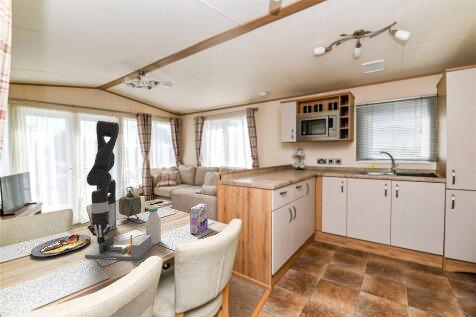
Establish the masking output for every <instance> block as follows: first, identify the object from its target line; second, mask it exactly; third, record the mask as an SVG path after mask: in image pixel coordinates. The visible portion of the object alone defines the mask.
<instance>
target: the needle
mask: <svg viewBox="0 0 476 317" xmlns="http://www.w3.org/2000/svg"><path fill="white" fill-rule="evenodd" d="M129 238H130V241H129V242H130V243H129V244H130V245H129V246H128V247H127V249H128V253H130V252H131V244H133V243H134V242H135V241H134V242H133V234H130V237H129Z"/></svg>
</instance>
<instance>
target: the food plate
mask: <svg viewBox="0 0 476 317" xmlns="http://www.w3.org/2000/svg"><path fill="white" fill-rule="evenodd" d="M59 241H60V242H59ZM91 241H92V238H91V236H90V235H87V234H72V235H67V236H61V237H59V238H58V237H57V238H54V239H51V240H47V241H44V242H41V243H40V244H38V245H36V246H34V247H33V248H32V249H31V250H30V253H31V255H32V256H35V257H48V256H49V257H50V256H54V255H55V256H56V255H59V254H63V253H67V252H69V251H73V250H77V249H79V248H81V247H85V245H88V244H89V243H90V242H91ZM57 242H58V243H60V244H59V245H58V244H57V245H53V244H56V243H57ZM50 245H52V247H48V246H50ZM45 247H47V248H45ZM44 248H45V249H44ZM42 249H44V250H43V251H42V252H41V250H42Z"/></svg>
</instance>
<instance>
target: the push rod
mask: <svg viewBox="0 0 476 317" xmlns="http://www.w3.org/2000/svg"><path fill="white" fill-rule="evenodd" d="M114 238H115V236H114V235H109V236H107V237H105V238H104V240H102V241H100V242H99V244H98V247H99V253H103V252H105V251H106V250H116V251H122V252H125V251H126V250H128V249H127V247H128V246H129V245H131V243H127V244H116V245H114V244H115V239H114Z"/></svg>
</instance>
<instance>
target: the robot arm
mask: <svg viewBox="0 0 476 317" xmlns="http://www.w3.org/2000/svg"><path fill="white" fill-rule="evenodd" d="M95 127H96V129H95V130H96V132H95V133H96V143H97V144H96V147H97V151H96V154H95V159H94V163H93V165H92V167H91V169H90V170H89V172H88V174H87V175H86V183H87V184H88V186H90V187H92V186H93V187H95V186H96V189H95V190H93V191H92V192H91V207H90V210H91V211H90V212H91V216H90V217H91V218H90V219H91V224H90V225H88V226H87V229H88V230H89V231H90V233H91V235H92V236H93V237H96V241H97V245H99V242H100V241H102V240H104V239H105V236H107V235H109V233H110V232H111V231H113V230H115V229H116V228H117V197H116V193H117V192H116V191H117V183H116V180H115V179H114V178H112V174H111V173H110V171H111V170H112V169H113V167H114V166H115V159H116V158H115V156H116V155H115V153H114V149H115V146H116V143H117V140H118V137H119V132H120V125H119V123H118V122H116V121H110V120H104V119H103V120H102V119H99V120H97V122H96V126H95ZM105 138H109V140H108V141H106V139H105Z"/></svg>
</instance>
